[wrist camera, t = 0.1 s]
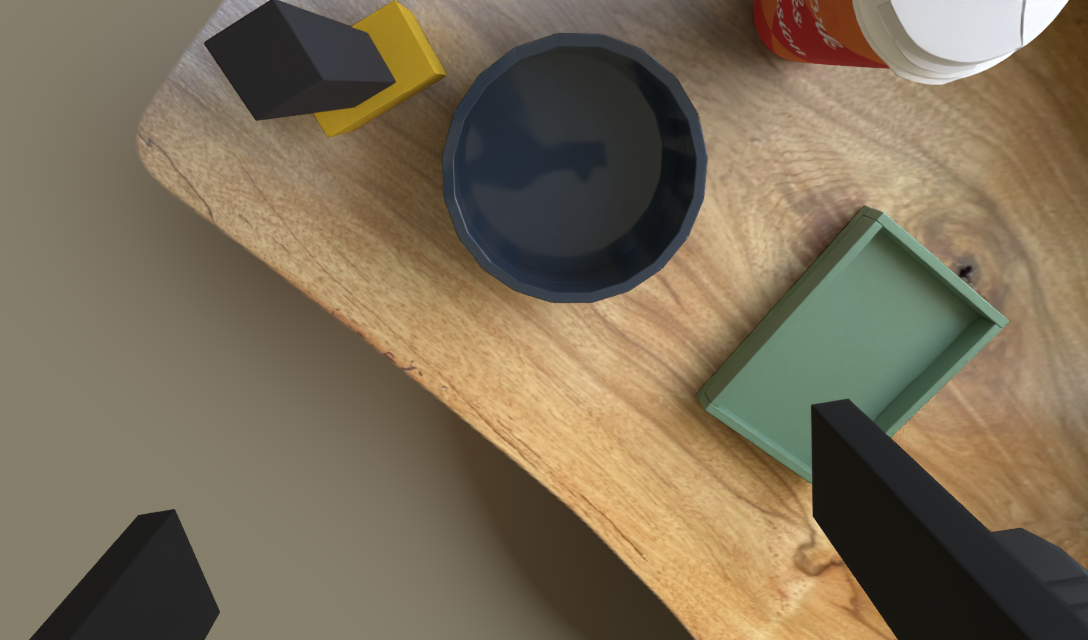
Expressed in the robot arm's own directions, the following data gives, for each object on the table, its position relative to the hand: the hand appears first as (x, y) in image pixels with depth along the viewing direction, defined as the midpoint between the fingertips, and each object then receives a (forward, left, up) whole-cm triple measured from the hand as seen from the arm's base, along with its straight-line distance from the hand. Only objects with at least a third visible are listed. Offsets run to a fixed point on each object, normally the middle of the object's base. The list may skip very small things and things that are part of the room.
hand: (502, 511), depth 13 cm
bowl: (-5, 0, -26) cm, 26 cm away
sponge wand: (-3, -11, -26) cm, 28 cm away
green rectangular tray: (-6, +21, -26) cm, 34 cm away
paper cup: (-19, +5, -26) cm, 33 cm away
